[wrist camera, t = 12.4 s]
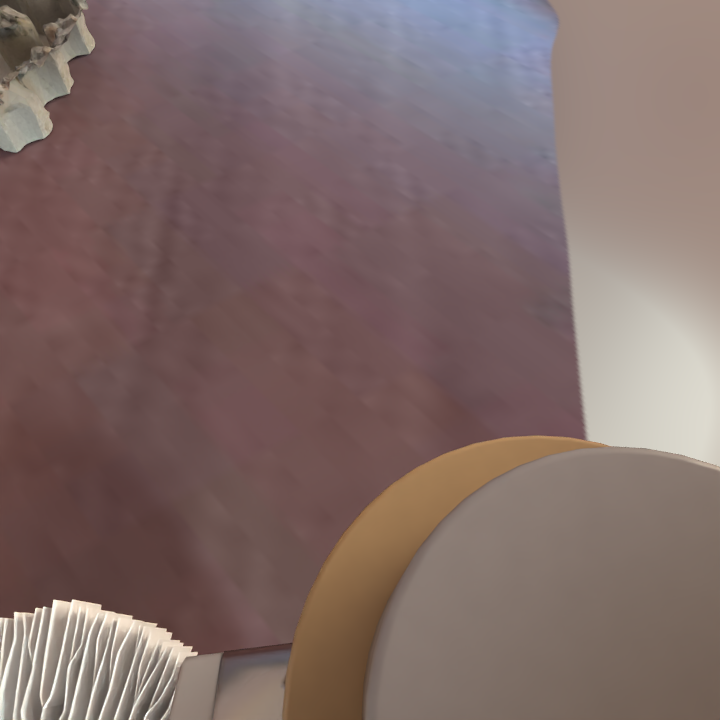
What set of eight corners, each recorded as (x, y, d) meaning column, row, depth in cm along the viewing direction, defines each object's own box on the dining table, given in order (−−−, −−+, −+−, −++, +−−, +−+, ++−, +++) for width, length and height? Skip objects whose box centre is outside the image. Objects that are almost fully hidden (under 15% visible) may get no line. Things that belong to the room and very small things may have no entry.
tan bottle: (276, 654, 14) (89, 656, 4) (457, 506, 16) (635, 246, 6) (434, 897, 12) (761, 1913, 2) (622, 703, 14) (1313, 832, 4)
